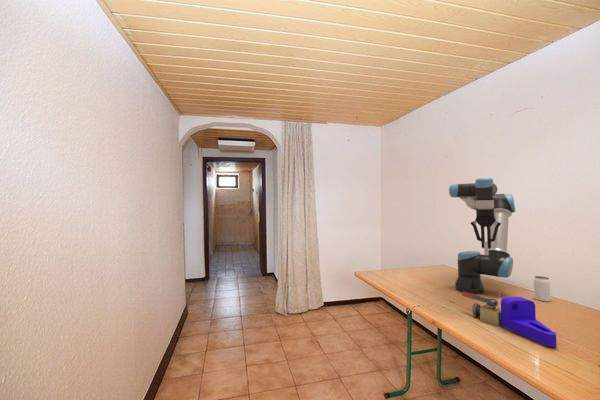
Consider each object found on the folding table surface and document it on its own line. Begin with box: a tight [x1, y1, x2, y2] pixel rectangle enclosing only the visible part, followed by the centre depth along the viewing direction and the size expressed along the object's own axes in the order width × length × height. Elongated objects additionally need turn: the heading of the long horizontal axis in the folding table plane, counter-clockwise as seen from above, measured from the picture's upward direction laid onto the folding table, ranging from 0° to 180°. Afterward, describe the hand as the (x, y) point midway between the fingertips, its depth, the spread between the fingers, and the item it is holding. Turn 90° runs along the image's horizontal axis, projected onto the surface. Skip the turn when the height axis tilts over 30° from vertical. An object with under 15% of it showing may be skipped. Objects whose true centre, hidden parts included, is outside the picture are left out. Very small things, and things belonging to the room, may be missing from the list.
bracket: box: [500, 296, 557, 348], centre depth 106 cm, size 18×11×12 cm, turn 1°
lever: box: [461, 291, 499, 307], centre depth 125 cm, size 15×4×2 cm, turn 26°
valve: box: [471, 302, 502, 327], centre depth 120 cm, size 14×7×7 cm, turn 34°
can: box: [533, 275, 551, 303], centre depth 146 cm, size 6×6×12 cm
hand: (486, 254), depth 137 cm, fingers closed
